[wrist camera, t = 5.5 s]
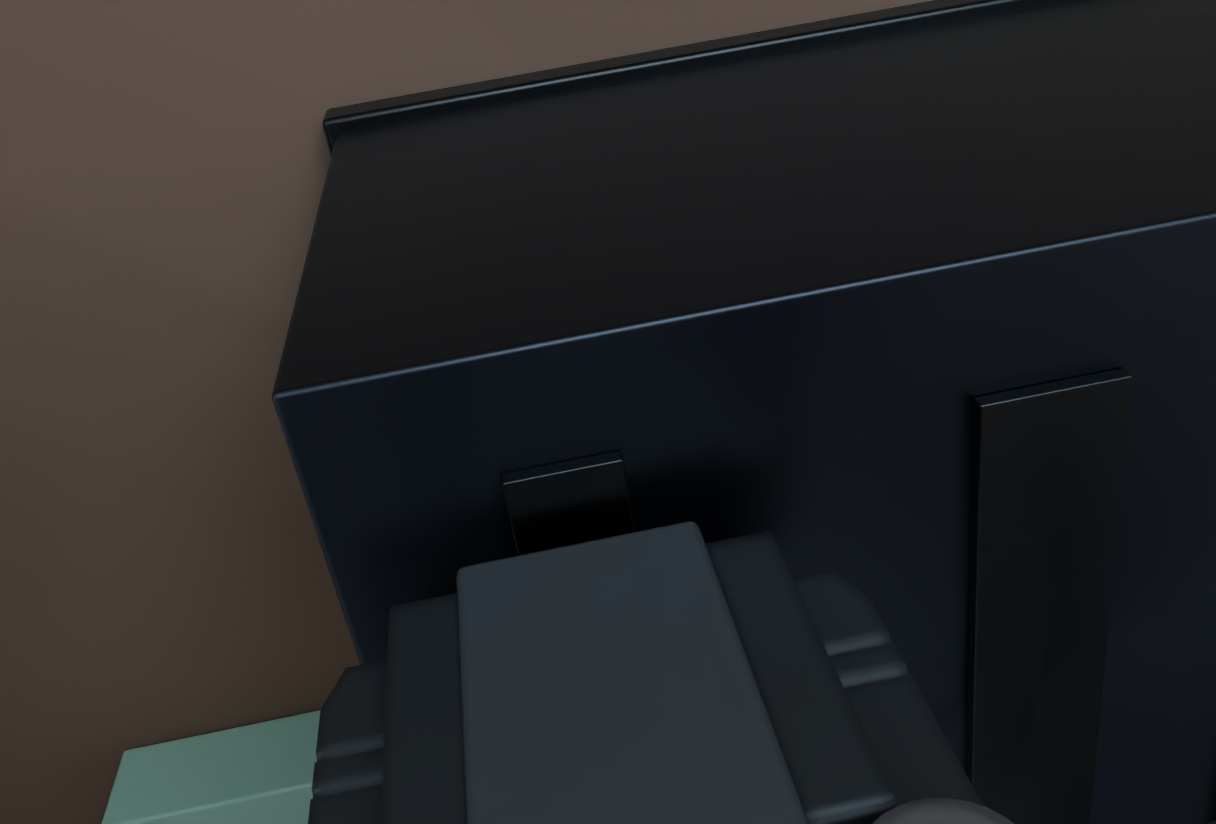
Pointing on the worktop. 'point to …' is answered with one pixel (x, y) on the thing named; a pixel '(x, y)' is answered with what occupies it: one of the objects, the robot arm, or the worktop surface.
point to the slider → (613, 690)
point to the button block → (220, 777)
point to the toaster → (814, 354)
